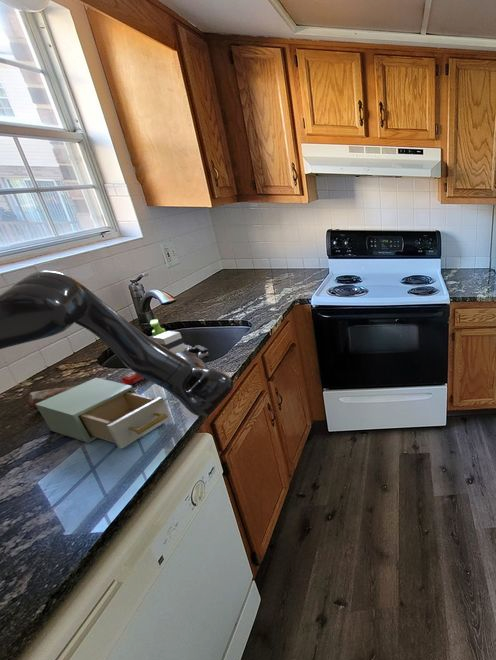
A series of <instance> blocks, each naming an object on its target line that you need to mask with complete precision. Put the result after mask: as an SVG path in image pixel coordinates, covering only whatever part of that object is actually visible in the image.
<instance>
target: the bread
mask: <svg viewBox="0 0 496 660" xmlns="http://www.w3.org/2000/svg"><path fill="white" fill-rule="evenodd" d="M76 386H77V385H73V386H66V387H58V388H57V387H56V388H50V389H43V390H37V391H32V392H31V391H30V393H29V394H28V405H29V407H30V409H32V410H35V411H39V410H38V408H37V407H36V405H35V404H37V403H39V402H41V401H44V400H46V399H48V398H51V397H53V396H55V395H57V394H60V393H62V392H64V391H67V390H69V389H71V388H74V387H76Z"/></svg>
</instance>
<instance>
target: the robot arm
mask: <svg viewBox="0 0 496 660" xmlns="http://www.w3.org/2000/svg"><path fill="white" fill-rule="evenodd" d="M73 324H76V325H78V326H80V327H82V328H83V329H86V330H87V331H89V332H90V333H92V334H94V335H95V336H96V337H98V338H99V339H100V340H101V341H102V342H103V343H104V344H105V345H106V346H107V347H108V348H109V349H110V350H111V351H112V353H114V354H115V356H116V357H117V358H118V359H119V360H120V361H121V362H122V364H123V365H125V366H126V367H127V368H128V369H129V370H131V371H132V372H135V373H137V374H138V375H140V376H142V377H144V378H145V379H144V380H147V381H149V382H151V383H154V384H155V385H157V386H159V387H161V388H162V389H164V390H166V391H167V392H168V393H170V394H171V395H172V396H173V397H175V398H176V399H177V400H178V401H179V402H180V403H181V405H183V406H184V407H185V408H186V409H187V410H188V411H189V412H190V413H191V414H193V415H195V416H199V417H208V416H210V415H211V414H212V413H214V412H215V411H216V409H217V408H219V406H220V405H221V404H222V403H223V402H224V401H225V400H226V398H227V397H229V395H230V394H231V393H232V391H233V390H234V387H235V386H234V380H233V379H232V378H231V376H230V375H228V374H227V373H225V372H223V371H220V370H216V369H211V368H209V367H208V365H207V364H206V363H205V361H203V360H202V359H209V358H210V357H211V355H210V353H209V349H208V348H207V347H205V346H202V345H200V344H196V345H194V347H193V346H191V345H189V344H186V343H184V345H185V347H186V349H184V351H183V352H179V353H176V354H175V353H174V352H172V351H170V350H169V349H167V348H165V347H163V346H162V345H160V344H159V343H157V342H155V341H154V340H153V339H152V337H149V336H148V335H147V334H145V333H144V332H143V331H141V330H140V329H138V328H137V327H136V326H134V325H133V324H132V323H131V322H129V321H128V320H127V319H126V318H124V317H123V316H122V315H121V314H119V313H118V312H117V311H116V310H115V309H113V308H112V307H110V306H109V305H108V304H107V303H106V302H104V300H102V299H101V298H100V297H98V296H97V295H96V294H95V293H94V292H92V291H91V290H90V289H88V288H87V287H86V286H85V285H83V284H82V283H81V282H79V281H78V280H76V279H75V278H73V277H71V276H69V275H67V274H64V273H61V272H59V271H52V270H41V271H36V272H32V273H30V274H28V275H26V276H25V277H23V278H22V279H20V280H19V281H17V282H16V283H15V284H14V285H12V286H11V287H10V288H8V289H6V290H5V291H3V292H2V293H1V294H0V350H3V349H7V348H10V347H14V346H19V345H23V344H26V343H30V342H34V341H39V340H42V339H47V338H50V337H54V336H56V335H59V334H60V333H63V332H64V331H66V330H67V329H69V328H70V327H71V326H72V325H73Z"/></svg>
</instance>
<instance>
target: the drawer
mask: <svg viewBox="0 0 496 660" xmlns="http://www.w3.org/2000/svg"><path fill="white" fill-rule="evenodd" d="M78 417H79V419H80V420H81V422H82V424H83V426H84V427H85V429H86V431H87V433H88V435H91V436H95V437H98V438H99V439H101V440H104V441H107V442H111V443H114V444H116V446H117V447H118V449H124V448H125V447H127V446H129V445H130V444H132V443H133V442H135V441H138V439H140V438H142V437H143V436H145V435H147V434H148V433H150V432H151V431H153V430H155V429H156V428H158V427H160V426H161V425H163V424H165V423H167V422H168V421H170V420H171V419H172V416H171V414H170V411H169V409H168V407H167V404H166V403H165V400H164V398H163V397H162V396H158V397H156V398H154V397H151V396H147V395H142V394H139V393H136V394H135V393H131V392H126V393H124V394H122V395H120V396H118V397H116V398H114V399H112V400H110V401H107V402H105V403H103V404H101V405H99V406H97V407H95V408H93V409H91V410H89V411H87V412H85V413H83V414H81V415H79V416H78ZM98 438H97V439H98Z"/></svg>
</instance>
